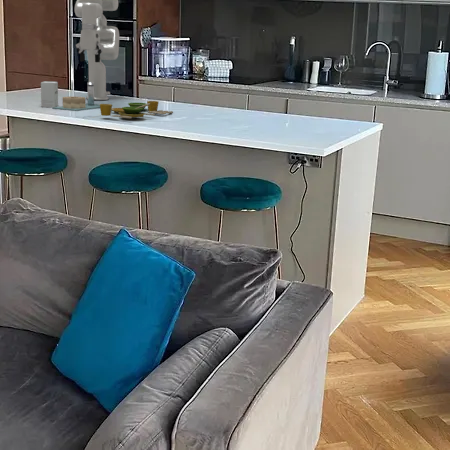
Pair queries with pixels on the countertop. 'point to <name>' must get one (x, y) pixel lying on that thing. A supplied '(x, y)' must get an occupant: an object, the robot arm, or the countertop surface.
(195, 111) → the countertop surface
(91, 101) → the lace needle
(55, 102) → the supplement box
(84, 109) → the mat
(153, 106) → the tableware set
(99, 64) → the robot arm
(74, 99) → the tan box
